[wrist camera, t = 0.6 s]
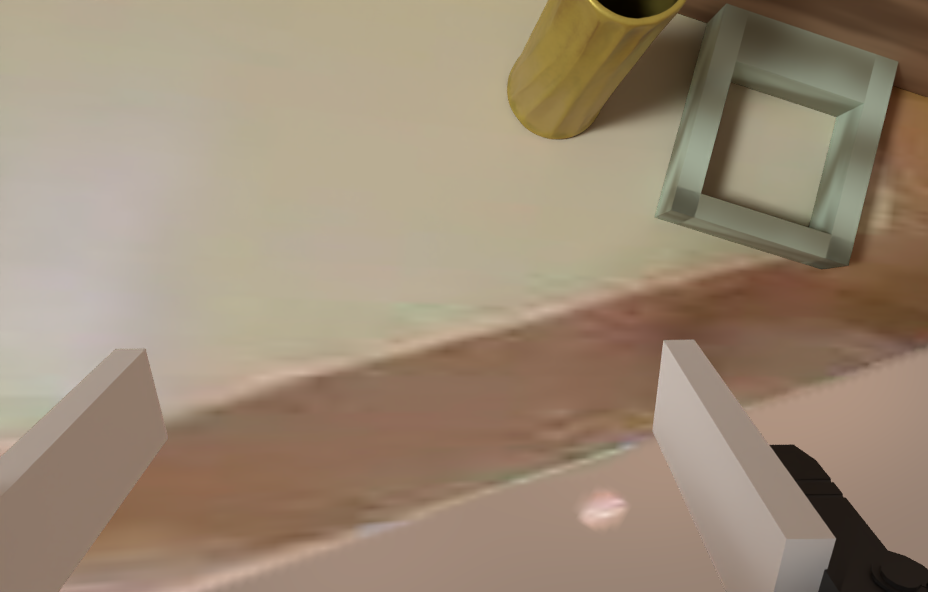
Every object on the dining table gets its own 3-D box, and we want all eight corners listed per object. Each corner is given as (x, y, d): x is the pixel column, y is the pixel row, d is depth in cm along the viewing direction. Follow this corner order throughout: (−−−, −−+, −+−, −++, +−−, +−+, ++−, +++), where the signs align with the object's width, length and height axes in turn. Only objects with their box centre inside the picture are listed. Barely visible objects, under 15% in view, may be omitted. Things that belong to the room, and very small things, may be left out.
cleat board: (881, 287, 41) (1543, 233, 17) (591, 197, 40) (868, 0, 16) (934, 69, 42) (1627, -271, 18) (653, -27, 41) (1002, -531, 17)
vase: (536, 27, 40) (606, -140, 26) (618, 76, 40) (733, -61, 26) (489, 108, 39) (534, -16, 25) (573, 158, 40) (665, 63, 25)
